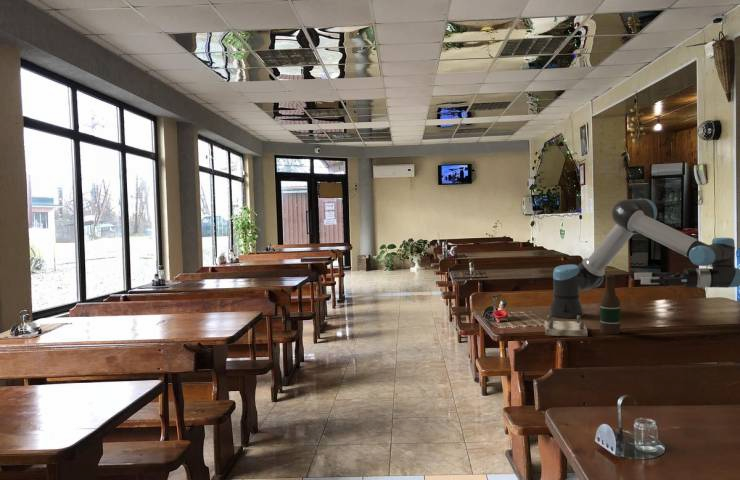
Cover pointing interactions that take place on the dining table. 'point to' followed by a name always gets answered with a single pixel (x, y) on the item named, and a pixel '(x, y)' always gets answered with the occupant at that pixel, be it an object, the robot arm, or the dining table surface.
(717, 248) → the robot arm
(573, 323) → the condiment stand
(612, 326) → the beer bottle
